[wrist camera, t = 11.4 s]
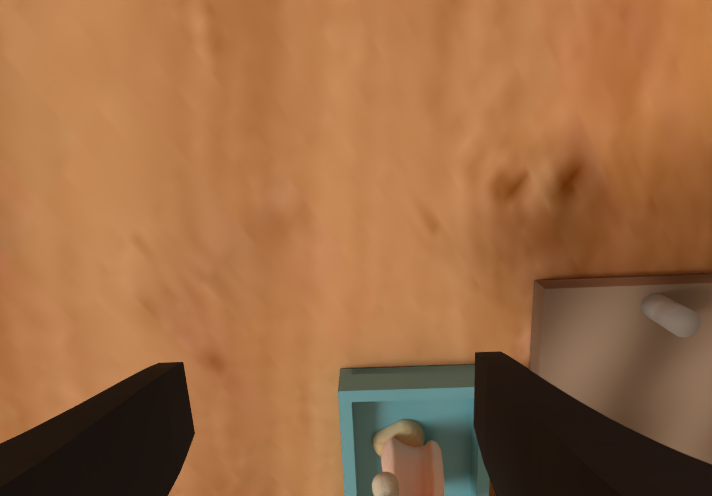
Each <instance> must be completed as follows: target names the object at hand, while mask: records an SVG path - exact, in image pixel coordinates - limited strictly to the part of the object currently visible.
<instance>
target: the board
mask: <svg viewBox="0 0 712 496" xmlns="http://www.w3.org/2000/svg"><path fill="white" fill-rule="evenodd" d="M529 370H531V371H532V372H534V373H535V374H537V375H538V376H540V377H542V378H543V379H545V380H546V381H548V382H549V383H551V384H552V385H554V386H556V387H557V388H559V389H560V390H562V391H563V392H565V393H567V394H568V395H570V396H572V397H573V398H575V399H577V400H578V401H580V402H582V403H583V404H585V405H587V406H589V407H590V408H592V409H594V410H596V411H598V412H599V413H601V414H603V415H605V416H606V417H608V418H610V419H612V420H614V421H616V422H618V423H620V424H622V425H624V426H625V427H628V428H630V429H632V430H634V431H636V432H638V433H640V434H642V435H644V436H646V437H648V438H651V439H653V440H655V441H657V442H659V443H661V444H663V445H666V446H668V447H670V448H672V449H675V450H677V451H679V452H682V453H684V454H687V455H689V456H692V457H694V458H697V459H699V460H702V461H704V462H707V463H709V464H711V465H712V274H690V275H664V276H637V277H610V278H584V279H557V280H535V282H534V298H533V314H532V330H531V346H530V362H529Z"/></svg>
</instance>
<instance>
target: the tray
mask: <svg viewBox="0 0 712 496" xmlns="http://www.w3.org/2000/svg"><path fill="white" fill-rule="evenodd" d="M474 383H475V364H474V365H443V366H412V367H381V368H350V369H340V377H339V387H338V398H339V414H340V430H341V445H342V461H343V477H344V492H345V496H374V494H373V491H372V482H373V479H374V477H375V476H376V475H377V474H379V473H381V472H383V470H382V463H381V457H380V456H379V455H378V454H377V453H376V452H375V450H374V448H373V445H372V438H373V436H374V434H375V433H376V432H378V431H380V430H381V429H383V428H385V427H387V426H389V425H391V424H393V423H395V422H397V421H399V420H403V419H410V420H413V421H415V422H417V423H418V424H419V425H420V426H421V427H422V429H423V432H424V435H425V440H424V445H426V443H427V442H429V441H431V440H433V441H435V442H437V443H438V445H439V447H440V449H441V452H442V461H443V474H444V496H489V483H490V478H489V476H488V473H487V471H486V468H485V466H484V463H483V459H482V456H481V452H480V449H479V445H478V441H477V437H476V433H475V430H474V426H473V421H474Z"/></svg>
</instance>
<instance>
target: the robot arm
mask: <svg viewBox="0 0 712 496" xmlns="http://www.w3.org/2000/svg"><path fill="white" fill-rule="evenodd" d="M473 426H474V430H475V433H476V437H477V441H478V445H479V449H480V452H481V456H482V459H483V463H484V466H485V468H486V471H487V473H488V476H489V478H490V481H491V483H492V485H493V488H494V490H495V493H496V495H497V496H712V465H711V464H709V463H707V462H704V461H702V460H699V459H697V458H694V457H692V456H689V455H687V454H684V453H682V452H679V451H677V450H675V449H672V448H670V447H668V446H666V445H663V444H661V443H659V442H657V441H655V440H653V439H651V438H648V437H646V436H644V435H642V434H640V433H638V432H636V431H634V430H632V429H630V428H628V427H625V426H624V425H622V424H620V423H618V422H616V421H614V420H612V419H610V418H608V417H606V416H605V415H603V414H601V413H599V412H598V411H596V410H594V409H592V408H590V407H589V406H587V405H585V404H583V403H582V402H580V401H578V400H577V399H575V398H573V397H572V396H570V395H568V394H567V393H565V392H563V391H562V390H560V389H559V388H557V387H556V386H554V385H552V384H551V383H549V382H548V381H546V380H545V379H543V378H542V377H540V376H538V375H537V374H535V373H534V372H532V371H531V370H529V369H528V368H526V367H525V366H523V365H522V364H520V363H519V362H517V361H516V360H514V359H513V358H511V357H509V356H508V355H506V354H504V353H502V352H475V383H474V421H473ZM194 434H195V432H194V425H193V419H192V413H191V407H190V401H189V395H188V389H187V383H186V377H185V370H184V364H183V362H172V363H158V364H155V365H153V366H150V367H148V368H146V369H144V370H142V371H140V372H138V373H136V374H134V375H132V376H130V377H128V378H127V379H125V380H123V381H121V382H119V383H117V384H116V385H114V386H112V387H110V388H108V389H106V390H105V391H103V392H101V393H99V394H97V395H95V396H94V397H92V398H90V399H88V400H86V401H85V402H83V403H81V404H79V405H77V406H75V407H73V408H71V409H69V410H67V411H66V412H64V413H62V414H60V415H58V416H56V417H54V418H52V419H50V420H48V421H46V422H44V423H42V424H40V425H38V426H36V427H34V428H32V429H30V430H28V431H26V432H24V433H22V434H20V435H18V436H16V437H14V438H12V439H9V440H7V441H5V442H3V443H1V444H0V496H168V494H169V492H170V490H171V489H172V487H173V485H174V483H175V481H176V479H177V477H178V475H179V473H180V471H181V468H182V466H183V463H184V461H185V459H186V456H187V453H188V451H189V448H190V445H191V442H192V440H193V437H194Z"/></svg>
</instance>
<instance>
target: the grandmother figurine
mask: <svg viewBox="0 0 712 496" xmlns="http://www.w3.org/2000/svg"><path fill="white" fill-rule="evenodd" d="M424 440H425V435H424V432H423V429H422V427H421V426H420V425H419V424H418V423H417V422H415V421H413V420H410V419H403V420H399V421H397V422H395V423H393V424H391V425H389V426H387V427H385V428H383V429H381V430H380V431H378V432H376V433H375V434H374V436H373V438H372V445H373V448H374V450H375V452H376V453H377V454H378V455H379V456H380V457H381V463H382V470H383V472H381V473H379V474H377V475H376V476H375V477H374V479H373V482H372V491H373V494H374V496H444V474H443V461H442V452H441V449H440V447H439V445H438V443H437V442H435V441H433V440H431V441H429V442H427V443H426V445H424Z"/></svg>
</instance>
